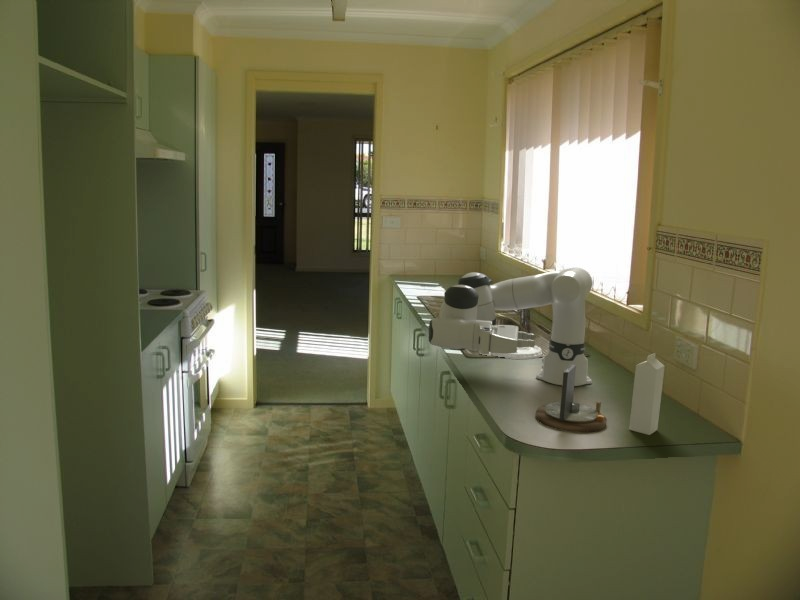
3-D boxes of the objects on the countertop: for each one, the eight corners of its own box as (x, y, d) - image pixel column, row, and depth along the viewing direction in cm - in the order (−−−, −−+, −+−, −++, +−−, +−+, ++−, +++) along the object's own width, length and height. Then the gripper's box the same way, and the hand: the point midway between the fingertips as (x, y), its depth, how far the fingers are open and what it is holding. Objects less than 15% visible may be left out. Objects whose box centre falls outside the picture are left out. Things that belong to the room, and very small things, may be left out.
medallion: (554, 357, 284) (554, 351, 284) (499, 363, 271) (499, 357, 271) (516, 344, 304) (516, 338, 304) (463, 348, 291) (463, 343, 291)
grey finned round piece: (552, 402, 219) (557, 354, 216) (608, 413, 212) (613, 363, 209) (534, 419, 203) (539, 367, 200) (594, 431, 195) (599, 377, 193)
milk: (657, 430, 205) (666, 354, 201) (649, 435, 200) (658, 358, 196) (636, 424, 208) (645, 350, 205) (628, 429, 204) (637, 353, 200)
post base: (535, 406, 221) (536, 390, 220) (602, 412, 218) (604, 396, 217) (535, 428, 201) (537, 410, 201) (609, 435, 198) (611, 418, 197)
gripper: (486, 339, 214) (533, 343, 212) (481, 355, 194) (533, 360, 192) (487, 318, 213) (535, 322, 211) (483, 332, 193) (535, 337, 191)
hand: (534, 340), depth 201 cm, fingers open, 6 cm apart
